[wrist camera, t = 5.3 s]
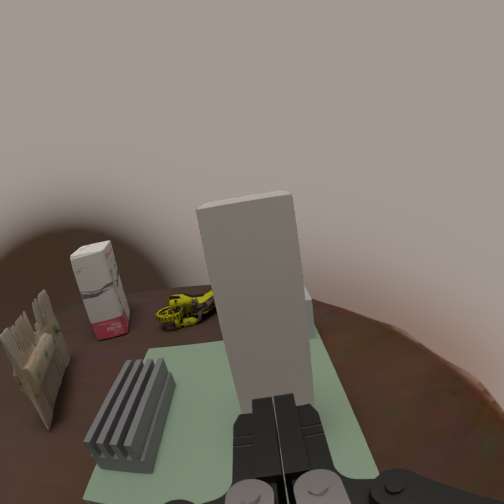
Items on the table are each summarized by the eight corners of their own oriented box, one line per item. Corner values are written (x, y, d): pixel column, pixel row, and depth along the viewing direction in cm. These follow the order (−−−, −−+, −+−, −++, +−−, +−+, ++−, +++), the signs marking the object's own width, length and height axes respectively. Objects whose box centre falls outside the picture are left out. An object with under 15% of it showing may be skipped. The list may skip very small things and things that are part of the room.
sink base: (381, 492, 12) (395, 439, 11) (89, 506, 12) (45, 457, 11) (312, 327, 33) (308, 281, 32) (154, 349, 33) (141, 307, 32)
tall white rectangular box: (316, 434, 16) (292, 193, 13) (250, 444, 16) (195, 209, 13) (297, 363, 24) (273, 186, 20) (248, 371, 24) (213, 196, 20)
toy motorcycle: (149, 307, 36) (158, 289, 43) (158, 335, 37) (165, 313, 43) (246, 290, 37) (241, 273, 44) (252, 319, 38) (246, 299, 44)
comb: (61, 359, 32) (33, 287, 30) (77, 356, 33) (50, 282, 30) (42, 435, 19) (-12, 339, 16) (63, 432, 20) (10, 334, 17)
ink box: (128, 334, 38) (102, 248, 35) (95, 342, 36) (67, 257, 33) (130, 310, 46) (110, 238, 43) (102, 317, 44) (81, 245, 41)
